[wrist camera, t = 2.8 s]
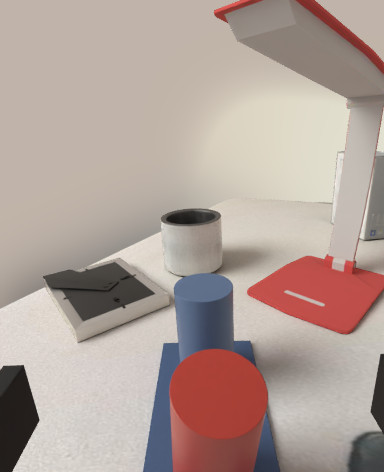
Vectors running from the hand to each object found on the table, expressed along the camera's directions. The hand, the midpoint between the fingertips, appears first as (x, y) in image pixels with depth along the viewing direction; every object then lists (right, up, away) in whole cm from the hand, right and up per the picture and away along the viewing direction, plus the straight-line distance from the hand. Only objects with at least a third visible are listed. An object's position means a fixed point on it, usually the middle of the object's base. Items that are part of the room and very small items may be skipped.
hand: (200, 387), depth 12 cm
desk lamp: (+21, -5, +44) cm, 49 cm away
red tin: (+1, -15, +15) cm, 21 cm away
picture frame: (-16, -6, +47) cm, 50 cm away
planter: (0, -1, +57) cm, 57 cm away
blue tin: (+2, -11, +27) cm, 29 cm away
